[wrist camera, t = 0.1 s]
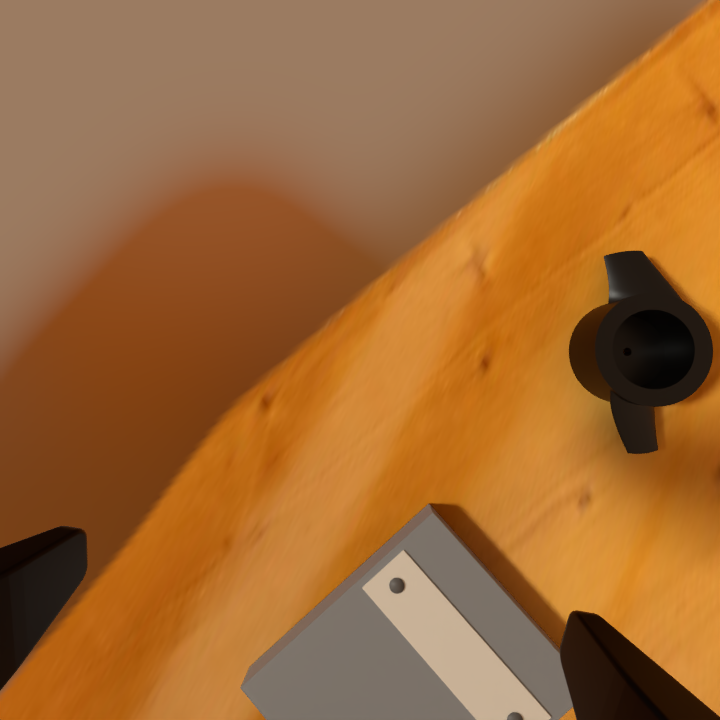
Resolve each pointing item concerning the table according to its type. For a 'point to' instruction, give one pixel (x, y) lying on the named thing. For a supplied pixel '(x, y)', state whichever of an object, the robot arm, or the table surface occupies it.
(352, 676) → the grey flat block
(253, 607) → the table surface
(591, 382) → the black piece
